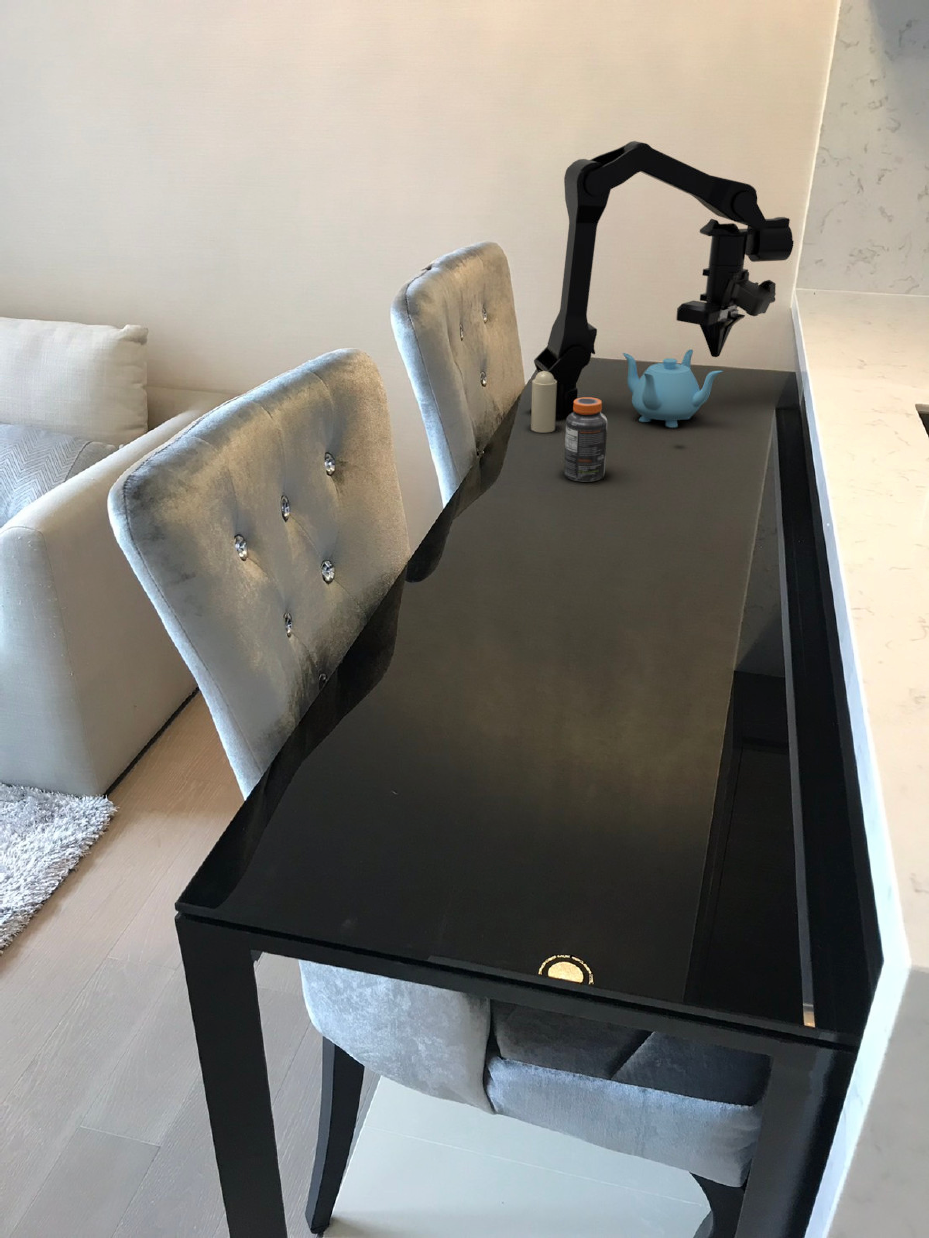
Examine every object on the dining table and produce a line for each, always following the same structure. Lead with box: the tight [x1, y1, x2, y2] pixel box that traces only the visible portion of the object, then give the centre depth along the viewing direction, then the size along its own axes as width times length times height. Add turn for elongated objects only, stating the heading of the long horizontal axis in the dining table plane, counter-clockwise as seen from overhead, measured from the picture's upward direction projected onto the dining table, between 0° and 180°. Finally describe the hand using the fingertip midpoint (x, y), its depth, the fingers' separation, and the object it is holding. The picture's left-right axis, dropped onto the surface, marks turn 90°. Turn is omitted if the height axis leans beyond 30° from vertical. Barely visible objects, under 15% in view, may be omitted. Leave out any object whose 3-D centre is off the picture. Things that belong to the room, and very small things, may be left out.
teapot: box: [622, 349, 724, 428], centre depth 167 cm, size 13×13×10 cm
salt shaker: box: [530, 371, 557, 434], centre depth 163 cm, size 4×4×10 cm
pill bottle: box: [563, 396, 608, 483], centre depth 144 cm, size 6×6×11 cm
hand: (715, 356), depth 174 cm, fingers closed
